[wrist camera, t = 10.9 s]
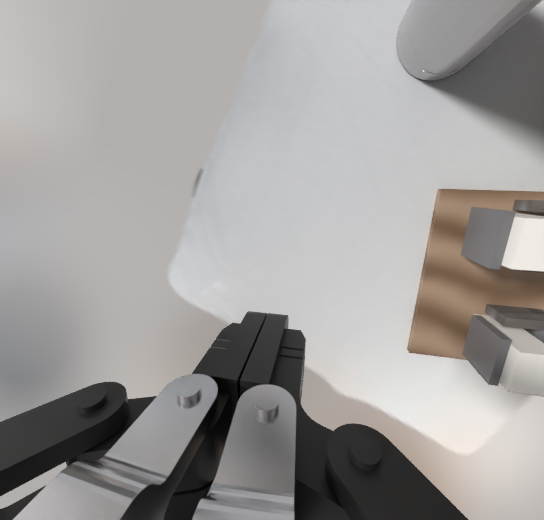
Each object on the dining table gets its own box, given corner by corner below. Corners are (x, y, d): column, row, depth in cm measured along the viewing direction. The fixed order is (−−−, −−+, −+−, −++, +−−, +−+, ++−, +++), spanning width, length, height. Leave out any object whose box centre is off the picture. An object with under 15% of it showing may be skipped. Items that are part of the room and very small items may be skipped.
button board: (439, 181, 34) (491, 177, 24) (588, 184, 31) (721, 182, 21) (407, 348, 41) (436, 404, 30) (527, 363, 38) (605, 429, 28)
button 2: (465, 206, 33) (515, 212, 24) (509, 207, 32) (578, 214, 24) (454, 252, 35) (498, 273, 26) (497, 254, 34) (556, 277, 25)
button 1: (466, 309, 36) (511, 347, 28) (507, 313, 35) (566, 353, 27) (457, 347, 38) (496, 393, 29) (495, 352, 37) (548, 401, 29)
